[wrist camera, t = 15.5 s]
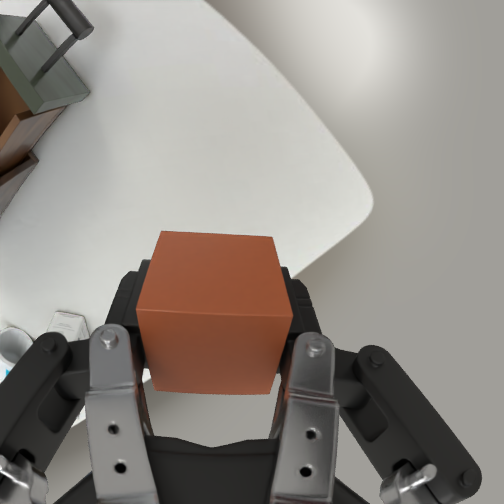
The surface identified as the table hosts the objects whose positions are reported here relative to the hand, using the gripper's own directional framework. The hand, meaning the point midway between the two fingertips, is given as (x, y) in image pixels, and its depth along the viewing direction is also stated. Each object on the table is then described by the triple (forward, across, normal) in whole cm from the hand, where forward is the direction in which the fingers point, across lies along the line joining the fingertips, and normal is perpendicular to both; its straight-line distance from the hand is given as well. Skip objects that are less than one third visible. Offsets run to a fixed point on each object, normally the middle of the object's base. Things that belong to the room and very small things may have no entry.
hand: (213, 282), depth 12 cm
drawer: (+16, +19, -8) cm, 26 cm away
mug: (+17, +33, +32) cm, 49 cm away
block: (0, 0, 0) cm, 0 cm away
